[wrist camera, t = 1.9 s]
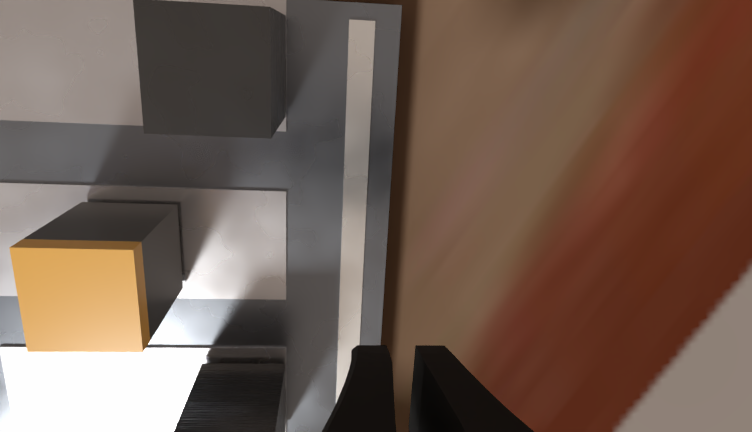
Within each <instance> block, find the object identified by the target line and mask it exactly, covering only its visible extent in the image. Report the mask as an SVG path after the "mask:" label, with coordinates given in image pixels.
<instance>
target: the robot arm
mask: <svg viewBox="0 0 752 432" xmlns="http://www.w3.org/2000/svg"><path fill="white" fill-rule="evenodd" d="M322 432H396V425H395V409H394V390H393V371H392V360H391V357H390V354H389V351H388V349H387V346H386V345H357V346H356V347H354V348H353V349H352V350H351V363H350V367H349V371H348V374H347V377H346V380H345V383H344V386H343V388H342V390H341V393H340V395H339V398H338V400H337V403H336V405H335V407H334V409H333V411H332V413H331V415H330V417H329V419H328V421H327V423H326V424H325V426H324V428H323V430H322ZM409 432H534V431H533V430H531V429H530V428H529V427H528V426H527V425H525V424H524V423H523V422H522V421H521V420H520V419H518V418H517V417H516V416H515V415H514V414H513V413H512V412H510V411H509V410H508V409H507V408H506V407H505V406H504V405H503V404H502V403H501V402H499V401H498V400H497V399H496V398H495V397H494V396H493V395H492V394H491V393H490V392H489V391H488V390H487V389H486V388H485V387H484V386H483V385H482V384H481V383H480V382H479V381H478V380H477V379H476V378H475V377H474V376H473V375H472V374H471V373H470V372H469V371H468V370H467V369H466V368H465V367H464V366H463V365H462V364H461V363H460V361H459V360H458V359H457V358H456V357H455V356H454V355H453V354H452V353H451V352H450V351H449V350H448V349H447V348H446V347H445V346H416V348H415V360H414V371H413V383H412V394H411V406H410V417H409Z"/></svg>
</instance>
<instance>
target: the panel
mask: <svg viewBox="0 0 752 432" xmlns="http://www.w3.org/2000/svg"><path fill="white" fill-rule="evenodd" d="M401 14H402V5H390V4H373V3H357V2H341V1H325V0H0V432H322V430H323V428H324V426H325V424H326V423H327V421H328V419H329V417H330V415H331V413H332V411H333V409H334V407H335V405H336V403H337V400H338V398H339V395H340V393H341V390H342V388H343V386H344V383H345V380H346V377H347V374H348V371H349V367H350V363H351V350H352V349H353V348H354V347H356V346H357V345H381V331H382V315H383V299H384V283H385V267H386V251H387V235H388V220H389V204H390V188H391V172H392V156H393V140H394V125H395V109H396V93H397V77H398V61H399V45H400V29H401ZM81 202H102V203H137V204H172V205H177V206H178V221H179V236H180V252H181V267H182V282H183V289H182V290H181V292H180V293H179V295H178V297H177V298H176V300H175V301H174V303H173V305H172V306H171V308H170V310H169V311H168V313H167V314H166V316H165V318H164V319H163V321H162V322H161V324H160V326H159V327H158V329H157V331H156V332H155V334H154V335H153V337H152V339H151V340H150V342H149V343H148V345H147V347H146V348H145V350H144V352H27V348H26V342H25V336H24V330H23V325H22V319H21V313H20V307H19V301H18V295H17V290H16V284H15V278H14V272H13V266H12V261H11V255H10V249H9V247H11V246H12V245H14V244H16V243H17V242H19V241H20V240H22V239H24V238H25V237H27V236H28V235H30V234H31V233H33V232H35V231H36V230H38V229H39V228H41V227H43V226H44V225H46V224H47V223H49V222H51V221H52V220H54V219H55V218H57V217H58V216H60V215H62V214H63V213H65V212H66V211H68V210H70V209H71V208H73V207H74V206H76V205H78V204H79V203H81Z"/></svg>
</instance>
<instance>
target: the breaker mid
mask: <svg viewBox="0 0 752 432" xmlns="http://www.w3.org/2000/svg"><path fill="white" fill-rule="evenodd" d="M9 249H10V255H11V261H12V266H13V272H14V278H15V284H16V290H17V295H18V301H19V307H20V313H21V319H22V325H23V330H24V336H25V342H26V348H27V352H144V350H145V348H146V347H147V345H148V343H149V342H150V340H151V339H152V337H153V335H154V334H155V332H156V331H157V329H158V327H159V326H160V324H161V322H162V321H163V319H164V318H165V316H166V314H167V313H168V311H169V310H170V308H171V306H172V305H173V303H174V301H175V300H176V298H177V297H178V295H179V293H180V292H181V290H182V289H183V282H182V267H181V252H180V236H179V221H178V206H177V205H172V204H137V203H102V202H81V203H79V204H78V205H76V206H74V207H73V208H71V209H70V210H68V211H66V212H65V213H63V214H62V215H60V216H58V217H57V218H55V219H54V220H52V221H51V222H49V223H47V224H46V225H44V226H43V227H41V228H39V229H38V230H36V231H35V232H33V233H31V234H30V235H28V236H27V237H25V238H24V239H22V240H20V241H19V242H17V243H16V244H14V245H12V246H11V247H9Z"/></svg>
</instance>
